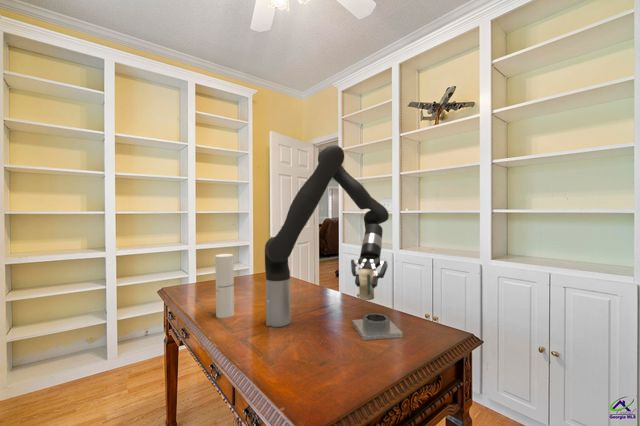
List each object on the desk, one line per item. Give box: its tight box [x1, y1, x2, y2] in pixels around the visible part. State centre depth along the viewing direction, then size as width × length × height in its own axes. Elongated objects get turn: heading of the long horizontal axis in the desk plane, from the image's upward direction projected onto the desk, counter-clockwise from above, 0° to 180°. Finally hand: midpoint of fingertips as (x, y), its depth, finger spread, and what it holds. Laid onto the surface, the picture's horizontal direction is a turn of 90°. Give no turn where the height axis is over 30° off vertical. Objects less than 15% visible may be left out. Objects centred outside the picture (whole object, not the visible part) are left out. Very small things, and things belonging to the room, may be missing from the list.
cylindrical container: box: [214, 253, 235, 319], centre depth 122 cm, size 7×7×25 cm
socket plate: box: [351, 312, 404, 341], centre depth 105 cm, size 14×14×4 cm
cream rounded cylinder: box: [358, 269, 375, 301], centre depth 105 cm, size 5×5×10 cm
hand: (365, 286), depth 103 cm, fingers closed on cream rounded cylinder, 5 cm apart
